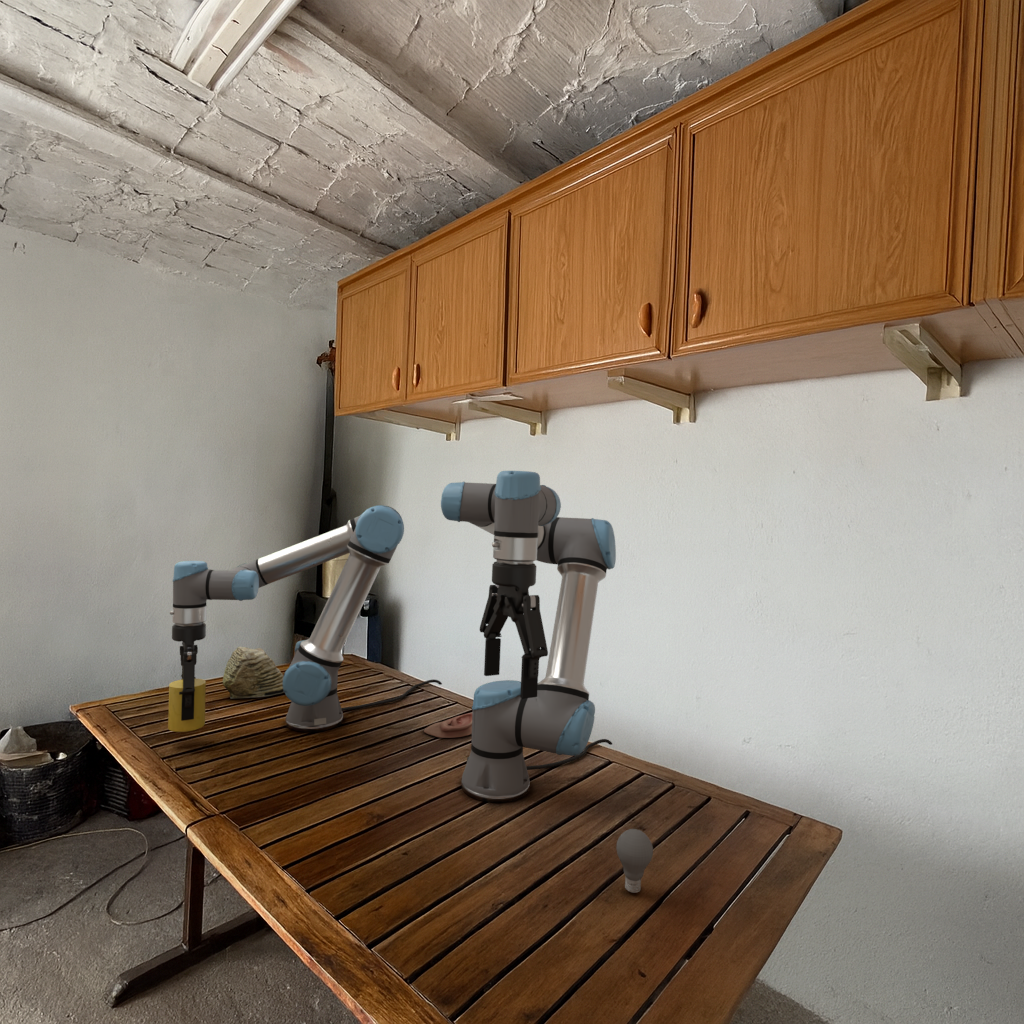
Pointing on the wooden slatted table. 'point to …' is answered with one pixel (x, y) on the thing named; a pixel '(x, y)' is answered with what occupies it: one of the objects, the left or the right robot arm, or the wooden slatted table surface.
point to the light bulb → (634, 857)
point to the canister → (176, 707)
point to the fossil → (252, 674)
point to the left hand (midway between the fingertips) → (187, 713)
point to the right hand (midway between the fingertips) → (509, 685)
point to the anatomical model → (452, 727)
